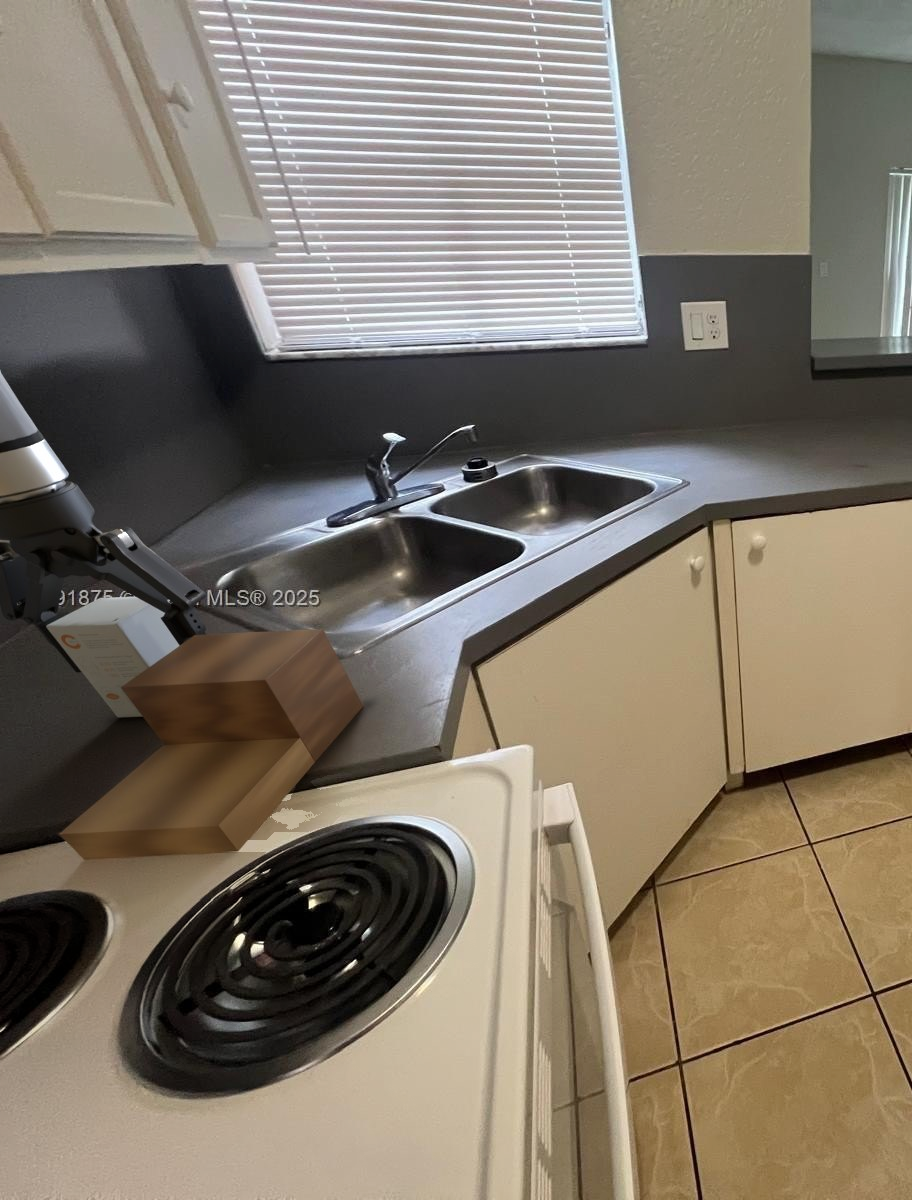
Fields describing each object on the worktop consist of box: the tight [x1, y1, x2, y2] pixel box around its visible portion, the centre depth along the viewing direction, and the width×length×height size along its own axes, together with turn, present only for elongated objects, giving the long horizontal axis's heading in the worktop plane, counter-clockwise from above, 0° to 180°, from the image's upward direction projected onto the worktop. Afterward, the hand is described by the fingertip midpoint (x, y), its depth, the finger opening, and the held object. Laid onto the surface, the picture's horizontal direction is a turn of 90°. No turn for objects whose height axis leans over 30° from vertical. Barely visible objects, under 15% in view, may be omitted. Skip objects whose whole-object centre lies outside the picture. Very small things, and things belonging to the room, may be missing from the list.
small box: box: [46, 596, 179, 718], centre depth 73 cm, size 8×6×13 cm
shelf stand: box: [58, 628, 364, 860], centre depth 62 cm, size 14×20×11 cm
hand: (148, 662), depth 73 cm, fingers open, 13 cm apart
